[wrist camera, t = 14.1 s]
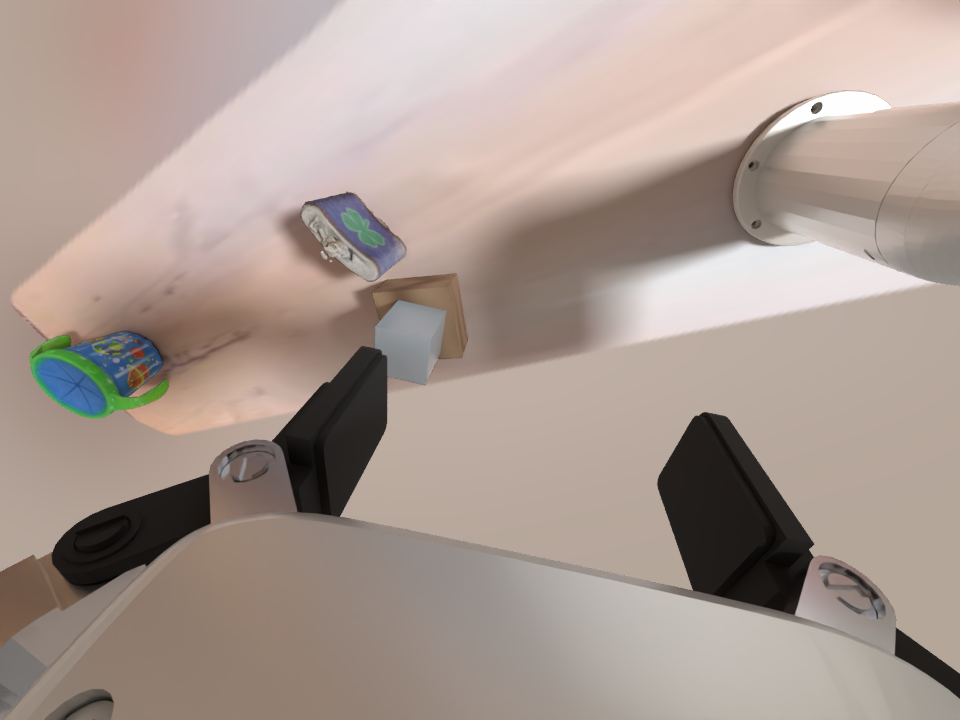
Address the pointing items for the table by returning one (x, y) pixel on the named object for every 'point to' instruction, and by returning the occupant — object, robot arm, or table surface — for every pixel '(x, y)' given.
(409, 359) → the pale blue cube
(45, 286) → the table surface
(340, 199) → the clover trinket box
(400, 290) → the block
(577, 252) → the table surface
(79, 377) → the snack cup
